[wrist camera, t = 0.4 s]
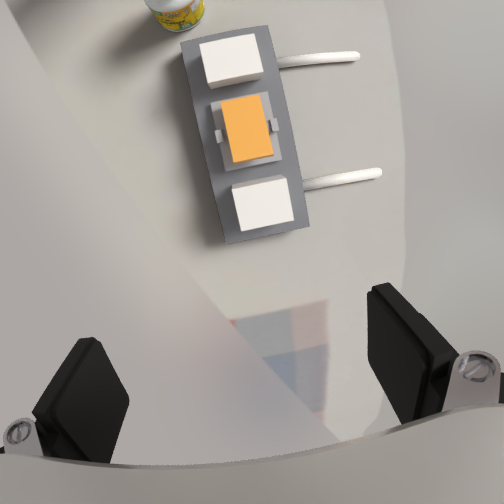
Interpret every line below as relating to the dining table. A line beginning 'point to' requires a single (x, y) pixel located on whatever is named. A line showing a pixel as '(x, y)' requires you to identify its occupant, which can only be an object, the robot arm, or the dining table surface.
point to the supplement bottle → (177, 13)
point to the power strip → (280, 131)
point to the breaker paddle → (247, 129)
